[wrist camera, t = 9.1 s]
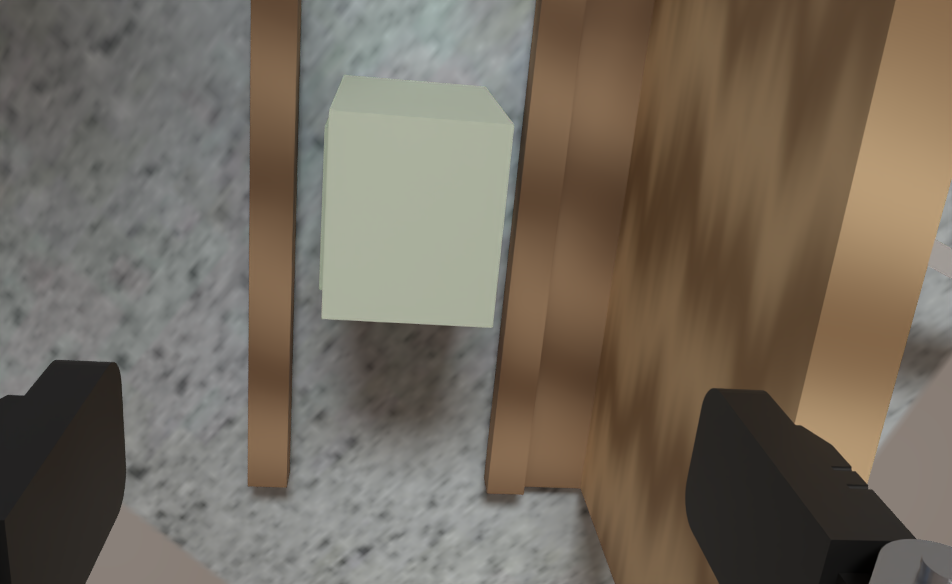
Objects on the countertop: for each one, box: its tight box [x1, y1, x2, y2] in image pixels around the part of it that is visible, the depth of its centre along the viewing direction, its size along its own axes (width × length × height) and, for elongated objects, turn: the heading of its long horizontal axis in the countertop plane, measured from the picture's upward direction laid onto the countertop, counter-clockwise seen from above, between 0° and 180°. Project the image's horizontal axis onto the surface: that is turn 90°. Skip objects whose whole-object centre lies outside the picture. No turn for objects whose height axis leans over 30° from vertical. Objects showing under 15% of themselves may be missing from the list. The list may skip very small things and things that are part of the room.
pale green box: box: [319, 75, 514, 328], centre depth 29 cm, size 6×5×8 cm
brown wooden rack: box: [248, 0, 952, 584], centre depth 25 cm, size 26×16×16 cm, turn 175°
